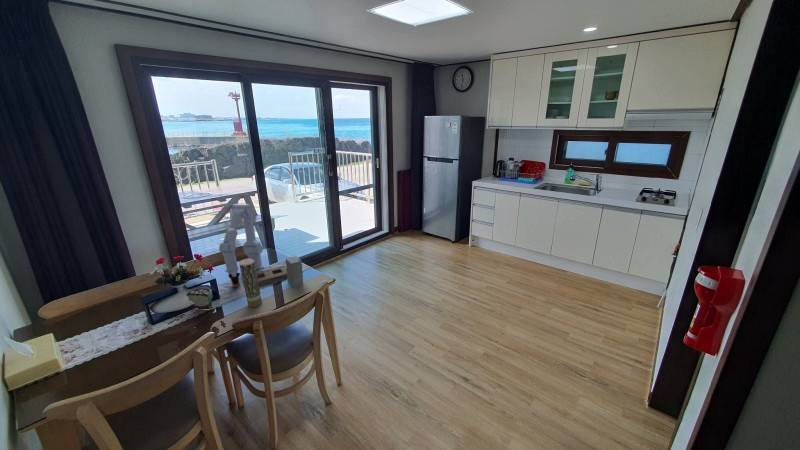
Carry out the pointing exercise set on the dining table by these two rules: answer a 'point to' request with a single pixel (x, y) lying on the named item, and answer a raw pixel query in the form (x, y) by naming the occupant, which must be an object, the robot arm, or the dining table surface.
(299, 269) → the skincare box
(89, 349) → the dining table surface
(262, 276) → the bore board
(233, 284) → the pin
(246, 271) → the paper tube
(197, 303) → the food container
